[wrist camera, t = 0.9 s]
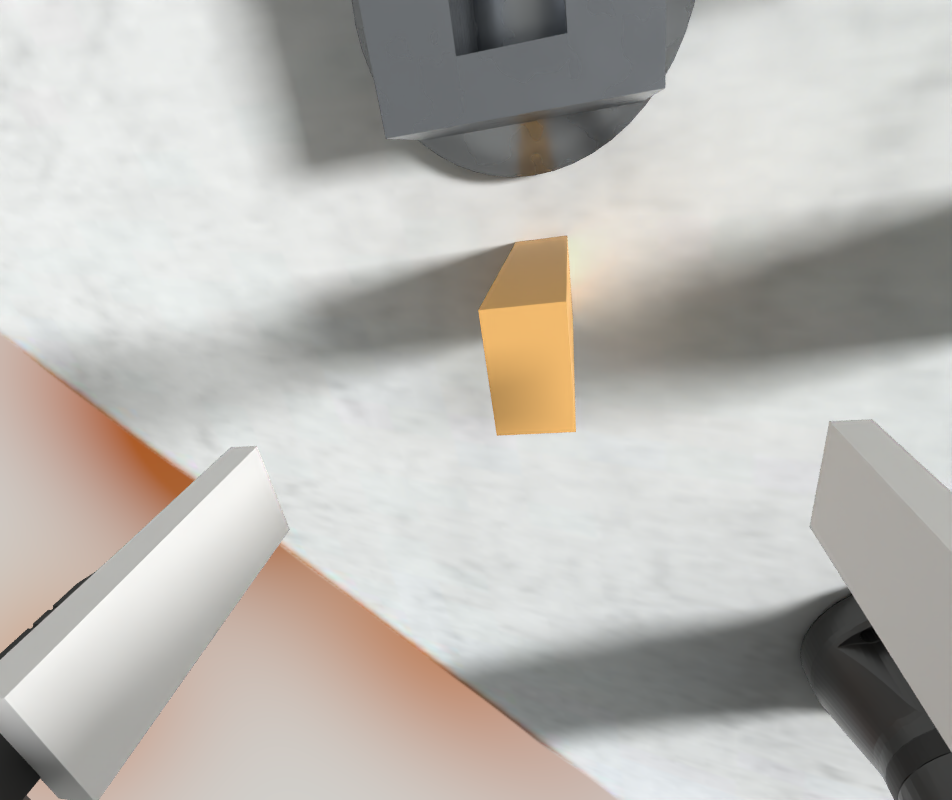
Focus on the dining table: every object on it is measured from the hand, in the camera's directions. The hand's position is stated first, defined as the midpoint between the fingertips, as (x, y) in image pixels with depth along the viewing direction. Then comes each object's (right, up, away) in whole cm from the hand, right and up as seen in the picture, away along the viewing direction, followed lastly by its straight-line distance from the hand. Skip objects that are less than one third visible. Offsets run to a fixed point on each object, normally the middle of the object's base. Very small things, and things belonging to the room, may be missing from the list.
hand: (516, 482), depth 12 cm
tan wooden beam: (+3, +9, +18) cm, 21 cm away
